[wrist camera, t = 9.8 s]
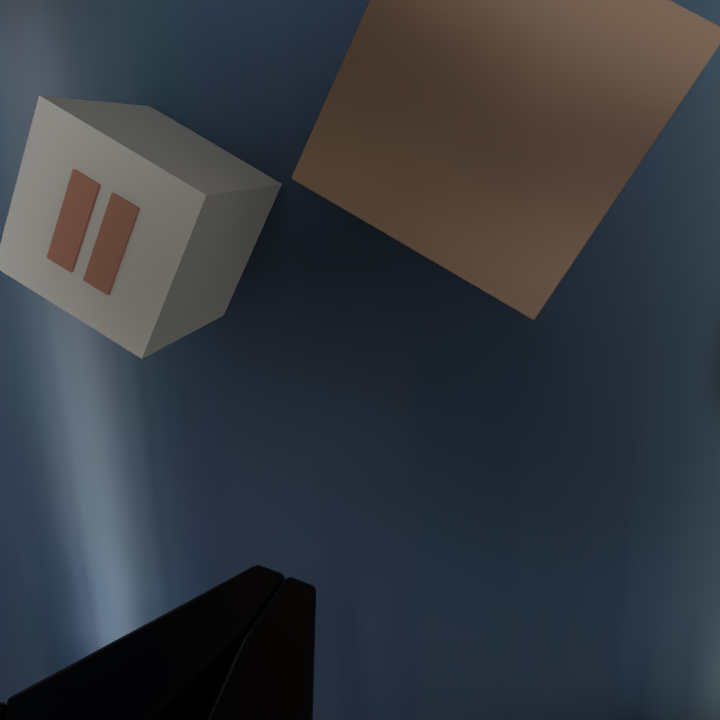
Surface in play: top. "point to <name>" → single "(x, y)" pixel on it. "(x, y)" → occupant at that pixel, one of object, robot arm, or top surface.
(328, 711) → the top surface
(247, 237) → the grey block marked
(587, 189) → the walnut block
